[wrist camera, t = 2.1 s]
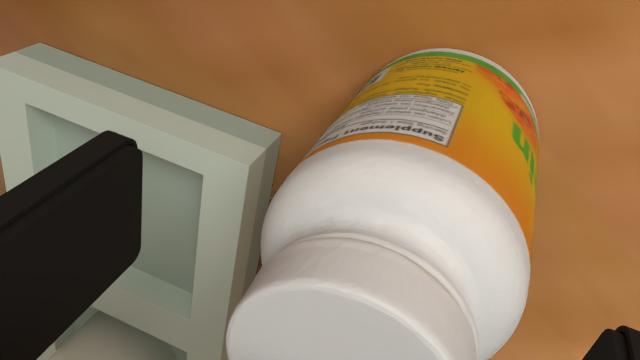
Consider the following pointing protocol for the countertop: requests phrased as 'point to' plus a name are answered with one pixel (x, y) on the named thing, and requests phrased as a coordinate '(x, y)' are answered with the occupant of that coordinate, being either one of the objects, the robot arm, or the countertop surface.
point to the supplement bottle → (402, 223)
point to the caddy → (152, 189)
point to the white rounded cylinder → (112, 342)
